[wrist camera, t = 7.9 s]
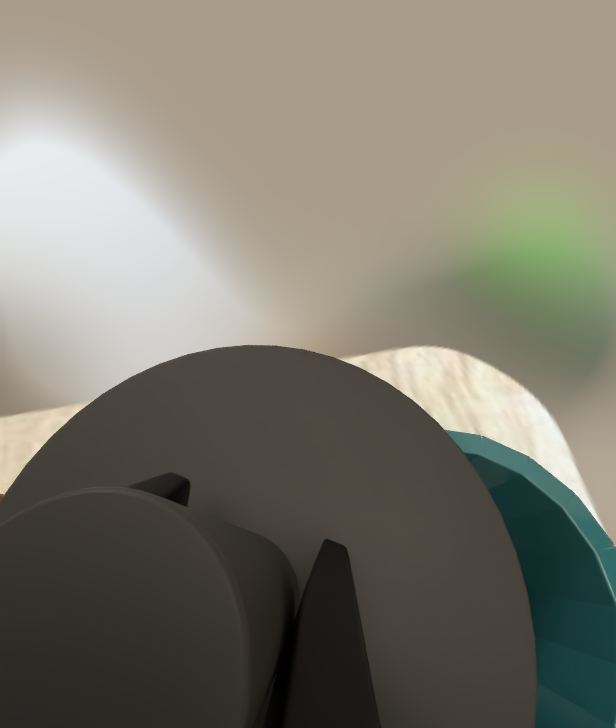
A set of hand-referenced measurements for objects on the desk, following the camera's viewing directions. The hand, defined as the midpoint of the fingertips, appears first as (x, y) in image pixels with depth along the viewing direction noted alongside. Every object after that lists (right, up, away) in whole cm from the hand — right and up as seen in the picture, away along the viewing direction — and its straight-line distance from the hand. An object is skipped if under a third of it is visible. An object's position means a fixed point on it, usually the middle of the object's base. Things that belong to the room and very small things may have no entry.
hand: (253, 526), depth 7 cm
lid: (0, -2, +1) cm, 3 cm away
